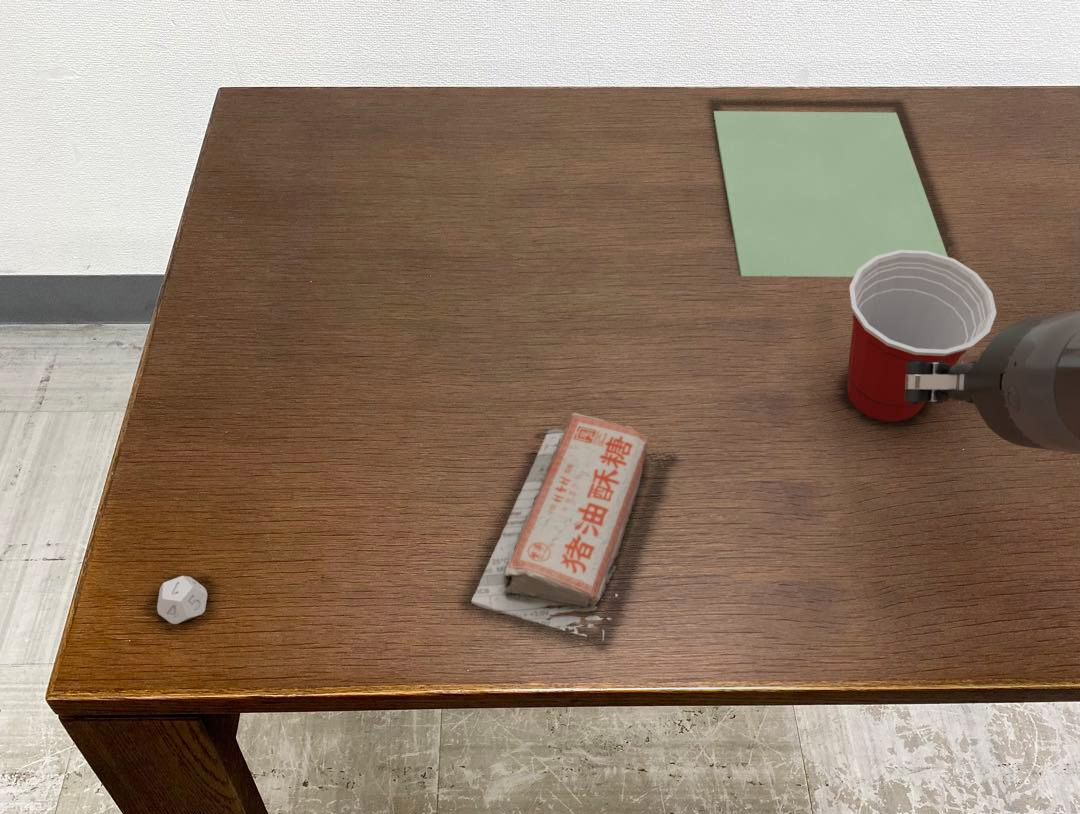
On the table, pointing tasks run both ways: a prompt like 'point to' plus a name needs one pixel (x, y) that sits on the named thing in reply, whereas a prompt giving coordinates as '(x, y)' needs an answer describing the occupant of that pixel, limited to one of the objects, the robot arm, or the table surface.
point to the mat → (821, 191)
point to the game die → (181, 599)
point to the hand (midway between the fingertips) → (949, 382)
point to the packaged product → (566, 524)
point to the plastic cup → (910, 324)
